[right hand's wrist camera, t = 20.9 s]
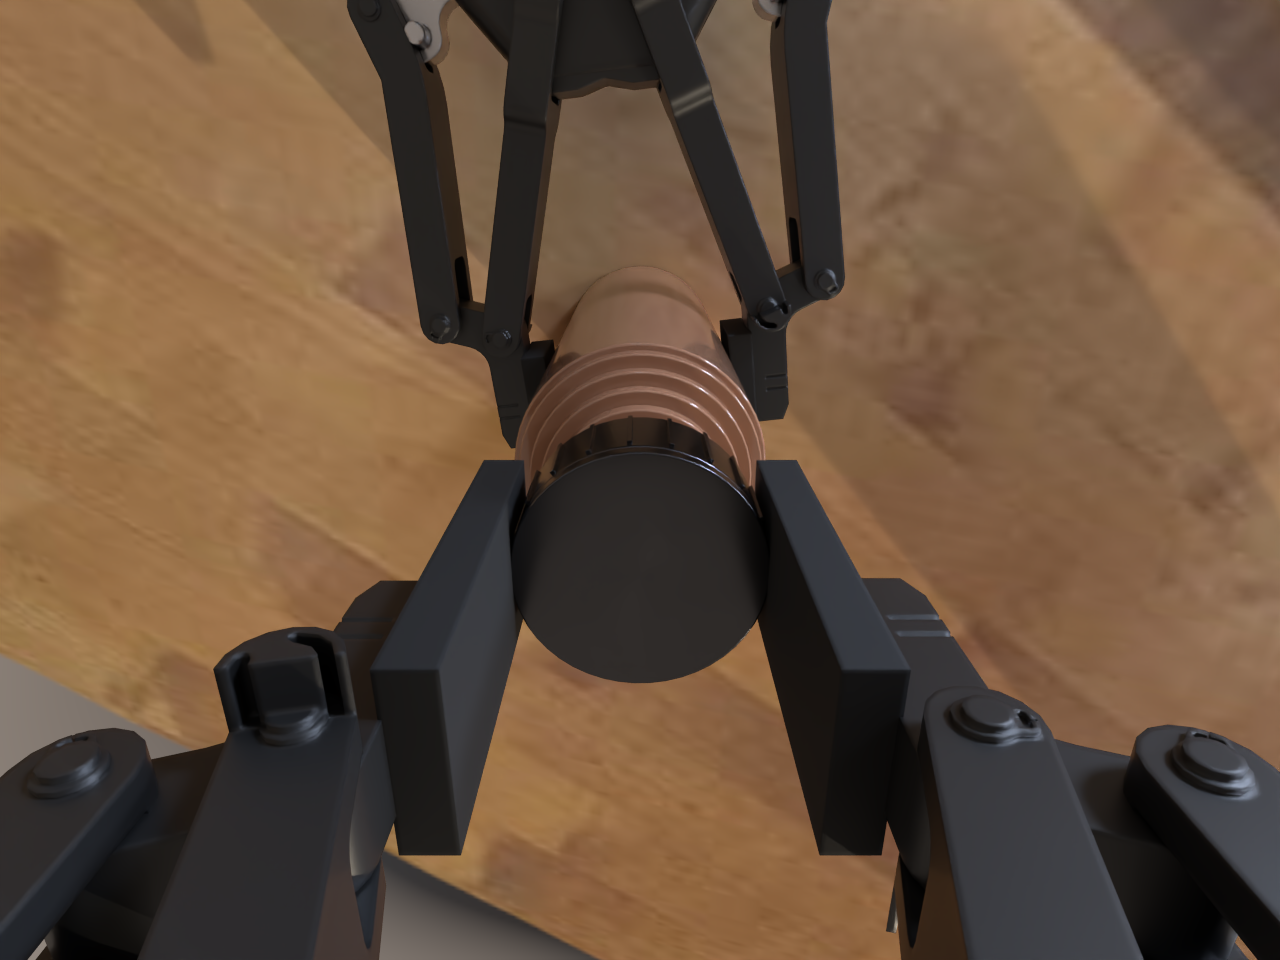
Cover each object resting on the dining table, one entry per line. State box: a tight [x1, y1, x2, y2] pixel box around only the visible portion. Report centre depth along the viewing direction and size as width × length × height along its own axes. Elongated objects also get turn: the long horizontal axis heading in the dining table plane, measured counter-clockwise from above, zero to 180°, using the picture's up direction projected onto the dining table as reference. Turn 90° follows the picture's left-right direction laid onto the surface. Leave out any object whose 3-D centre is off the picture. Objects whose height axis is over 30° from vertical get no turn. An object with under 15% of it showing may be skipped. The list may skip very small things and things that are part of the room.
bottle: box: [515, 266, 766, 496], centre depth 23 cm, size 6×6×20 cm
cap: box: [511, 415, 770, 683], centre depth 14 cm, size 4×4×2 cm
